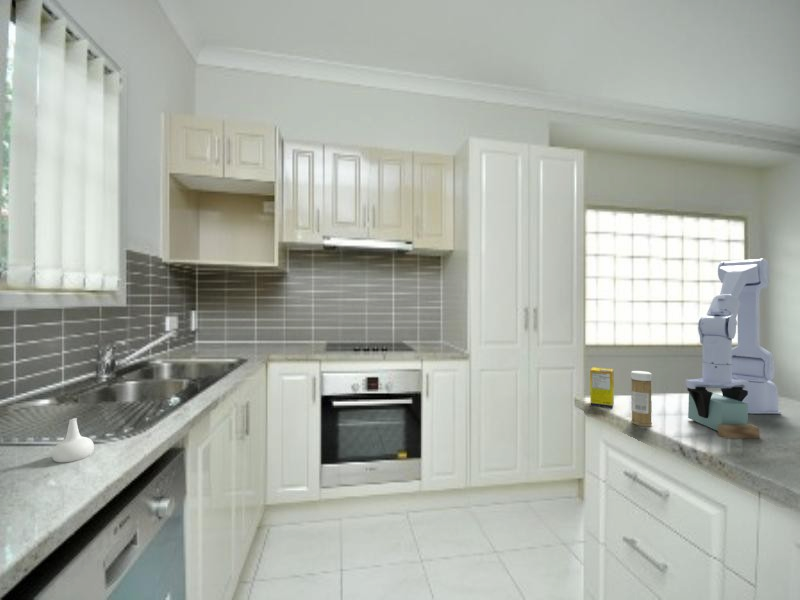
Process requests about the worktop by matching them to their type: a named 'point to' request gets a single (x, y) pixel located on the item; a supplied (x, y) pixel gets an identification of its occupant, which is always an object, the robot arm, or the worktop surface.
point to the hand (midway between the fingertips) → (716, 416)
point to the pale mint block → (720, 411)
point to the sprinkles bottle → (641, 398)
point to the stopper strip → (738, 431)
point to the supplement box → (602, 387)
